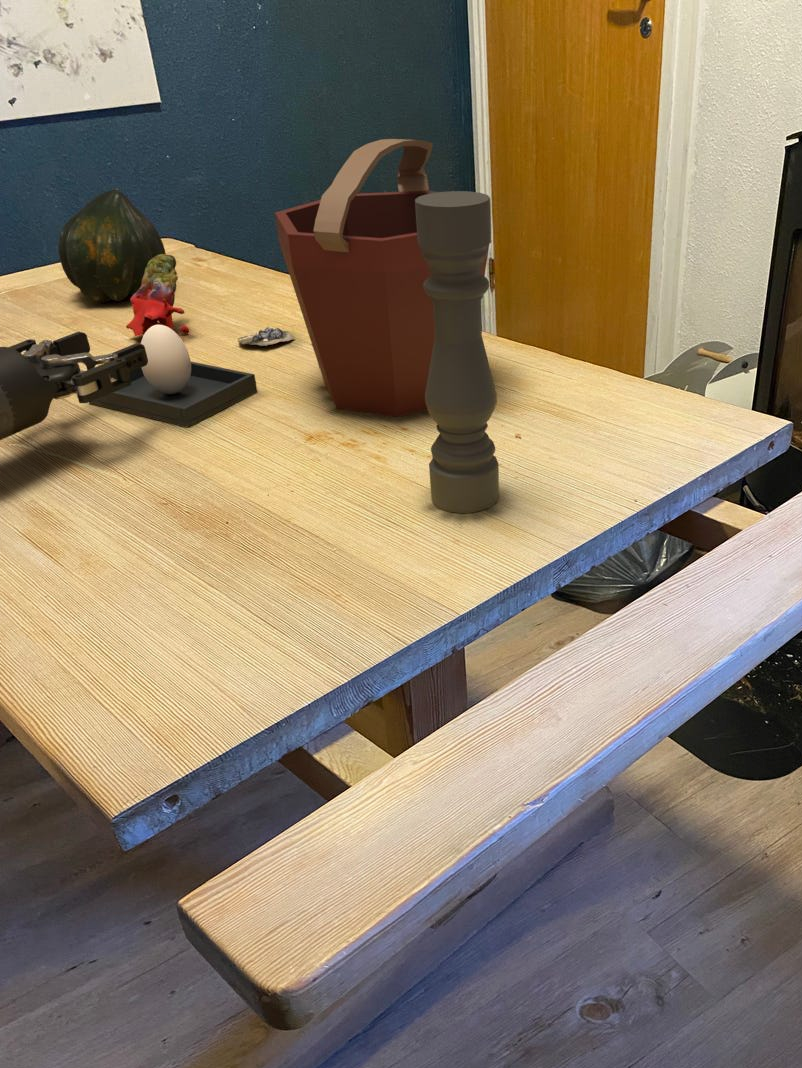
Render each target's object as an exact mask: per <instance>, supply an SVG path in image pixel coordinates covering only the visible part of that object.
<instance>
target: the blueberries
mask: <svg viewBox="0 0 802 1068" xmlns="http://www.w3.org/2000/svg"><path fill="white" fill-rule="evenodd" d="M291 340H295V336H293V335H292V334H291V332H290V331H289V330H282V329H281V328H279V327H277V328H273V327H272V328H271V327H270V326H266V328H265V329H259V330H258V332H255V333H254V334H253V333H252V334H251V333H247V335H245V336H241V337H239V338H237V340H236V341H237V343H238V344H239V345H246V344H247V345H250V346H251V345H252V346H254V345H257V346H260V347H263V346H265V347H268V345H269V346H270V345H274V344H278V343H280V342H290V341H291Z"/></svg>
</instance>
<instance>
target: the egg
mask: <svg viewBox="0 0 802 1068" xmlns="http://www.w3.org/2000/svg"><path fill="white" fill-rule="evenodd" d="M140 344H142V345H144V347H145V350H146V354H147V358H148V363H147V365H146V366H144V367H141V368H142V371H143V374H144V376H145V377H146V379H147V380H148V382H149V383H150V384H151V385H152V386H153V387H154V388H155V389H157V390H158V391H160V392H162V393H165V394H176V393H178V392H180V391H181V390H183V388H184V387H185V386H186V385H187V383H188V381H189V378H190V375H191V362H192V361H191V356H190V354H189V351H188V348H187V346H186V344H185V343H184V341H183V340H182V339H181V337H180V336H179V335H178V333H176V331H174V330H173V329H170V328H169V327H167V326H164V325H154V326H152V327H150V328H149V329H148V330H147V331H146V332H145V334H144V335H143V336H142V339H141V341H140Z"/></svg>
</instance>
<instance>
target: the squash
mask: <svg viewBox="0 0 802 1068" xmlns="http://www.w3.org/2000/svg"><path fill="white" fill-rule="evenodd" d="M57 249H58V255H59V256H58V257H59V260H60V264H61V268H62V269H63V272H64V273H65V276H66V278H67V279H68V280H69V282H70V283H71V284H72V285H73V286H75V287H76V288H78V289H79V291H80V292H81V294H82V295H84V297H86V298H87V299H89V300H90V301H92V302H95V303H99V304H104V303H108V302H109V301H111V300H112V301H114V302H120V301H122V300H125V299H126V298H127V297H128V296H129V295H132V296H133V295H134V294H135V293H136V292H137V291H138V290H139V289H140V287H141V283H142V278H143V276H144V271H145V269H146V267H147V264H148V262H149V261H150V260H151V259H152V258H154V257H155V256H157V255H160V254H165V255H167V253H166V249H165V245H164V243H163V240H162V238H161V236H160V234H159V232H158V231H157V229H156V227H155V226H154V224H153V223H152V222H151V221H150V220H149V219H148V217H146V216H145V214H144V213H142V212H141V211H140V210H139V209H138V208H137V207H136V206H135V205H134V204H133V202H131V200H130V199H129V198H128V197H127V195H126V194H124V192H122V191H121V190H120V189H119V188H114V189H109V190H106V191H104V192H101V193H100V194H98V195H97V196H95V197H94V198H93V199H92V200H90V201H89V202H87V204H85V205H84V206H83V207H82V208H81V209H80V210H79V211H78V212H77V213H75V214H74V215H73V216H72V217H71V218H70V219H69V220H67V222H66V223H65V224H64V226H63V227H62V229H61V231H60V233H59V239H58V245H57Z"/></svg>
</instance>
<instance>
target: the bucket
mask: <svg viewBox="0 0 802 1068" xmlns="http://www.w3.org/2000/svg"><path fill="white" fill-rule="evenodd" d="M433 146H434V143H433V142H430V141H428V140H422V139H421V140H419V139H404V138H403V139H401V138H399V139H398V138H385V139H384V138H383V139H378V140H375V141H372V142H369V143H368V142H367V143H366V144H364V145H362V146H361V147H358V148H357V149H355V150H354V151H353V152H352V153H351V154H350V155H349V157H348V158H347V160H346V161H345V162H344V164H343V165H342V166H341V168H340V169H339V171H338V172H337V174H336V175H335V177H334V179H333V181H332V183H331V184H330V186H329V187H328V188H327V189H326V190H325V191H324V192H323V194H322V195H321V198H320V199H318V200H314V201H311V202H308V203H304V204H301V205H297V206H294V207H290V208H286V209H284V210H279V211H276V212H274V215H275V223H276V229H277V230H276V231H277V236H278V243H279V246H280V249H281V253H282V255H283V258H284V262H285V265H286V268H287V271H288V275H289V277H290V280H291V283H292V287H293V291H294V293H295V296H296V299H297V302H298V305H299V308H300V311H301V315H302V318H303V321H304V324H305V327H306V330H307V333H308V336H309V339H310V342H311V343H310V344H311V346H312V348H313V352H314V355H315V358H316V362H317V365H318V367H319V370H320V374H321V377H322V380H323V383H324V386H325V388H326V391H327V392H328V394H329V396H330V399H331V400H332V403H333V405H334V407H335V409H339V410H345V411H353V412H360V413H367V414H374V415H382V416H389V417H397V418H398V417H402V416H406V415H410V414H414V413H418V412H423V411H426V410H427V411H428V409H427V406H426V402H425V392H426V386H427V380H428V374H429V369H430V363H431V357H432V350H433V344H434V338H435V330H434V313H433V301H431V298H430V296H428V295H427V294H426V293H425V290H424V287H423V283H424V282H425V280H426V279H427V278H428V277H429V276H431V270H430V269H429V267H428V264H427V262H426V261H425V259H424V258H423V255H422V248H420V247H419V245H418V240H417V224H416V209H415V199H417V198H418V197H419V196H423V195H426V194H431V193H437V192H438V191H433V190H429V189H430V188H429V187H430V186H429V181H428V176H427V172H426V170H425V168H424V166H425V165H426V164H427V162H428V160H429V158H430V157H431V154H432V150H433ZM400 148H403V151H402V157H401V159H400V161H399V164H398V166H397V170H398V176H397V188H398V191H387V192H386V191H385V192H365V193H360V192H361V190H362V188H363V186H364V184H365V182H366V181H367V179H368V178H369V176H370V174H371V173H372V172H373V170H374V168H375V167H376V166H377V164H378V163H379V162H380V160H381V159H382V158H383V157H384V156H386V155H388V154H389V153H391V152H392V151H394V150H398V149H400ZM491 206H492V205H491V202H490V212H491V209H492V207H491ZM491 213H492V212H491ZM489 249H490V244H489V245H488V246H487V250H488V251H489ZM488 256H489V252H488V253H487V255H486V257H485V258H484V261H483V265H482V267H481V268H480V273H481V274H483V275H484V276H485V277H486V269H487V263H488Z"/></svg>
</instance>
